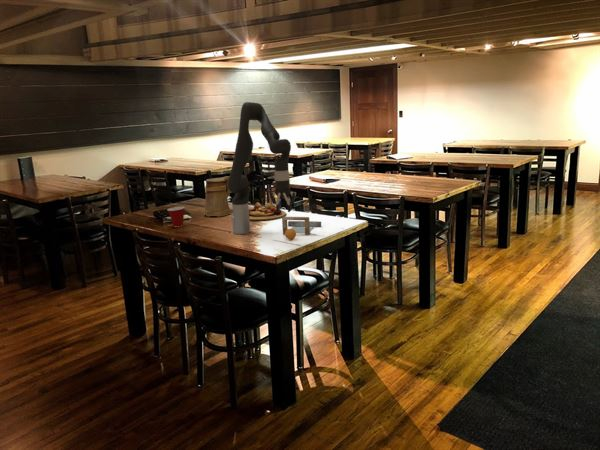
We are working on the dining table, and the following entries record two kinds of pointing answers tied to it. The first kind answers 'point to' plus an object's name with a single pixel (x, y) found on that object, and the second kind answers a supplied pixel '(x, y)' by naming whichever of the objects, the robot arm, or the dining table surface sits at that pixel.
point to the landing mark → (301, 229)
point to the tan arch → (307, 223)
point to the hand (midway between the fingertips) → (283, 211)
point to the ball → (290, 234)
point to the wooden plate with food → (265, 213)
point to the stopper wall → (303, 224)
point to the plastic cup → (177, 215)
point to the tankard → (217, 197)
